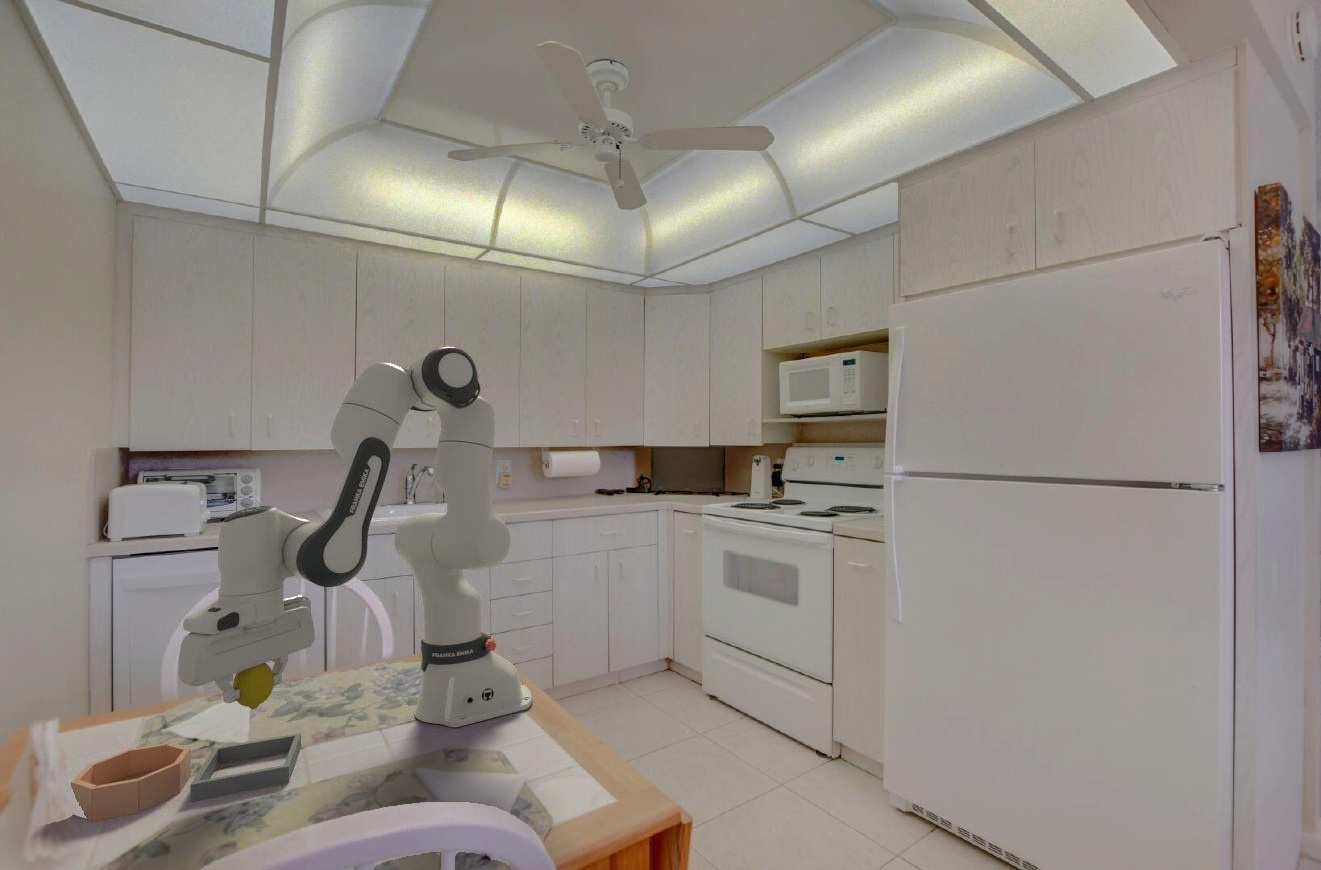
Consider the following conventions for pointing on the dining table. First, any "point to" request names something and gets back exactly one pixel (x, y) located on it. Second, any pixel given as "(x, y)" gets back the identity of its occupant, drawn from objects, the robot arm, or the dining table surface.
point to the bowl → (132, 780)
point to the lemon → (254, 685)
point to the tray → (247, 780)
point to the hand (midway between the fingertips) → (253, 692)
